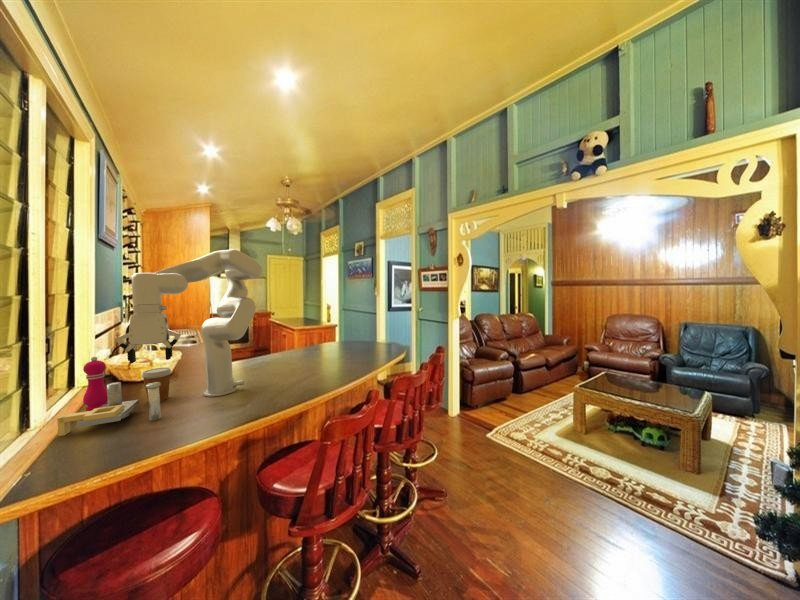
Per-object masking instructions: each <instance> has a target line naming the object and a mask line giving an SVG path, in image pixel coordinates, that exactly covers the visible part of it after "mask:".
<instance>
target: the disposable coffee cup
mask: <svg viewBox="0 0 800 600" xmlns="http://www.w3.org/2000/svg"><path fill="white" fill-rule="evenodd" d="M172 372H173V371H172V370H171V368H170V367H157V368H152V369H147V370H143V372H142V374H141V377H142V379H143V383H144V386H145V392H146V396H147V398H148V389H147V388H146V384H149V383H154V382H160V386H159V395H160V402H163V401H166V400H168V399H169V394H170V393H169V392H170V382H171V381H170V380H171V374H172ZM165 399H166V400H165ZM162 400H163V401H162Z"/></svg>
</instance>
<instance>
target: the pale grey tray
mask: <svg viewBox="0 0 800 600" xmlns="http://www.w3.org/2000/svg"><path fill="white" fill-rule="evenodd" d="M106 388H107V398H108V401H107V402H108V404H104V405H102V406H100V407H99V408H102V407H109V406H116V405H123V404H124V409H123V410H122V411H121V412H119V413H118V414H117V415H116V416H115V417H109V418H102V419H96V420H89V421H83V419H82V420H78V421H77V422H76V423H77V426H76V427H77V428H83V427H88V426H96V425H102V424H108V423H114V422H120V421H122V420H124V419H126V417H127V418H128V417H130V412H131V411H132V410H134V409H135V408H136V407H137V406H138V405H140V401H139V399H135V400H126V401H123V395H122V393H123V392H122V382H121V381H116V382H110V383H107V384H106ZM121 419H122V420H121Z"/></svg>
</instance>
